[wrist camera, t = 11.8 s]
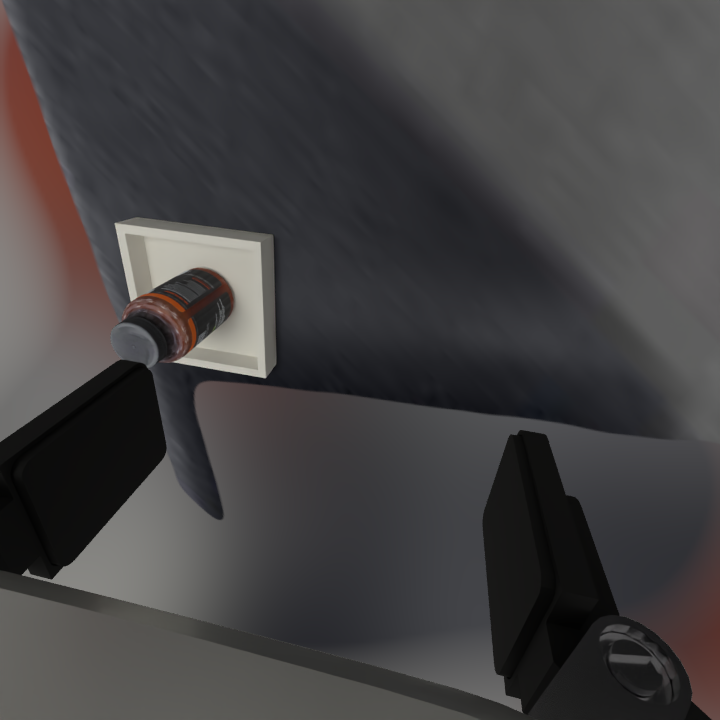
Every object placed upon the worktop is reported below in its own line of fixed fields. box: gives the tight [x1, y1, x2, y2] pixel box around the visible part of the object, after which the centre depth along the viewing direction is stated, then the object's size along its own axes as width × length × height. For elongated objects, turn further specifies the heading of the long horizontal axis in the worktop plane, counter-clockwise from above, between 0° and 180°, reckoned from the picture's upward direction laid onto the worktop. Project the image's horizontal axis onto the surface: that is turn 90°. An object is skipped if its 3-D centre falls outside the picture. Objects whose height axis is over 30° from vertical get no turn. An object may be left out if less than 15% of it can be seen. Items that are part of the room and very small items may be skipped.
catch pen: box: [115, 217, 276, 378], centre depth 41 cm, size 14×14×3 cm
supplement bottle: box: [111, 268, 234, 368], centre depth 36 cm, size 6×6×11 cm
